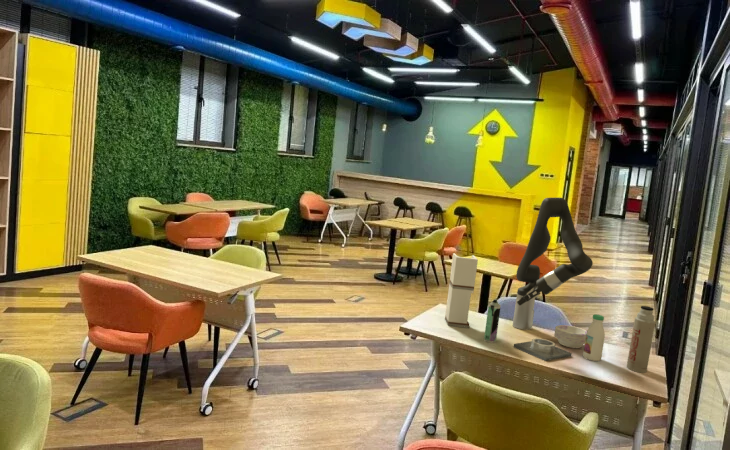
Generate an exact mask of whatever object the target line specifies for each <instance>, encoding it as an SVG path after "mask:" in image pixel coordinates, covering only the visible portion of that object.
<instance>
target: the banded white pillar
mask: <svg viewBox="0 0 730 450" xmlns="http://www.w3.org/2000/svg"><path fill="white" fill-rule="evenodd" d="M478 260H479V259H478V258H477V257H476V256H475V255H474V254H473V255H471V257H470V258H469V257H464V256H463V257H462V256H459V255H457V254H456V253H455V252H454V253H452V261H451V267H450V276H449V285H448V292H447V298H446V299H447V300H446V308H445V315H444V321H445V323H446V325H447V326H448V327H449V326H450V327H456V328H457V327H458V328H466V329H467V328H468V329H470V323H469V321H468V320H469V311H470V306H471V305H470V303H471V296H472V294H474V292H475V286H476V285H475V284H476V277H477V269H478Z"/></svg>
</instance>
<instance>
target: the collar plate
mask: <svg viewBox="0 0 730 450" xmlns="http://www.w3.org/2000/svg"><path fill="white" fill-rule="evenodd" d="M513 348H514V349H517V350H520V351H522V352H524V353H526V354H529V355H531V356H533V357H535V358H538V359H540V360H542V361H544V362H548V361H549V362H550V361H553V360H560V359H564V358H569V357H572V356H573V355H572V354H573V353H572V352H570V351H567V350H565V349H562V348H561V347H560V348H559V347H557V346H556V343H555V342H554V341H551V340H548V339H545V338H540V337H539V338H537V337H535V338H532V339H531V341H524V342H517V343H514V344H513Z"/></svg>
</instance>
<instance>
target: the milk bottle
mask: <svg viewBox="0 0 730 450" xmlns="http://www.w3.org/2000/svg"><path fill="white" fill-rule="evenodd" d="M604 319H605V316H604V315H600V314H598V313H597V314H592V321H591V324H590V325H589V327H588V328H587V330H586V331H587V334H586V339H585V344H583V345H584V346H583V352H582V357H583V358H584V359H586V360H588V361H594V362H600V361H602V356H603V350H604V344H605V337H606V334H605V328H604V325H603V323H604Z"/></svg>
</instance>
